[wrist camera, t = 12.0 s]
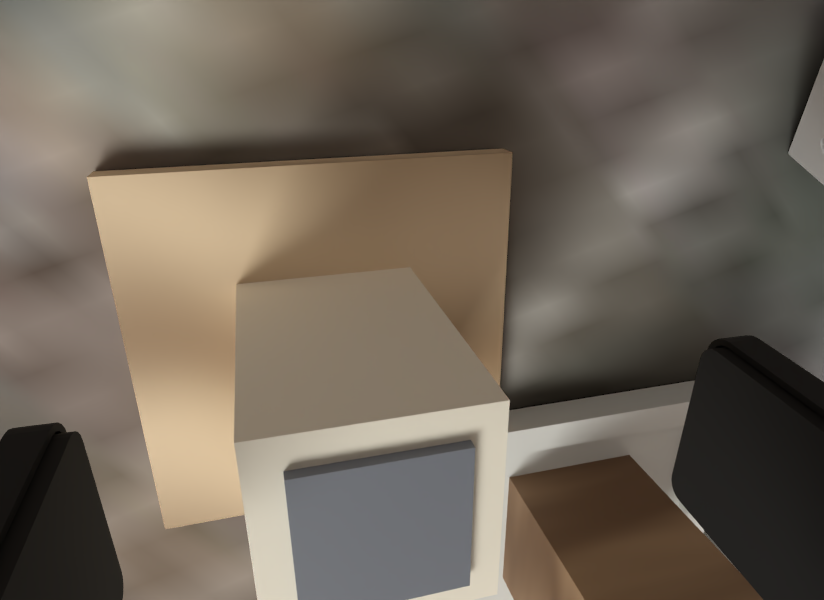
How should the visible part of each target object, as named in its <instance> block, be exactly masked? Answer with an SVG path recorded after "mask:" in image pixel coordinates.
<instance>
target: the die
mask: <svg viewBox="0 0 824 600" xmlns="http://www.w3.org/2000/svg"><path fill="white" fill-rule="evenodd" d="M788 154H789V155H790V156H791V157H792V158H793V159H795V160H796V161H797V162H798V163H799V164H800V165H801V166H802V167H804V168H805V169H806V170H807V171H808V172H809V173H810V174H812V175H813V176H814V177H815V178H816V179H817V180H818V181H819V182H821V183H822V184H823V185H824V60H823V62H822V65H821V68H820V70H819V73H818V75H817V78H816V81H815V83H814V86H813V89H812V91H811V94H810V97H809V99H808V102H807V105H806V107H805V110H804V112H803V115H802V118H801V120H800V123H799V126H798V128H797V131H796V134H795V136H794V139H793V141H792V144H791V147H790V149H789V152H788Z"/></svg>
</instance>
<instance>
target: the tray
mask: <svg viewBox="0 0 824 600" xmlns="http://www.w3.org/2000/svg"><path fill="white" fill-rule="evenodd" d="M694 382H695V380H694V381H688V382H682V383H676V384H669V385H663V386H657V387H651V388H645V389H638V390H632V391H626V392H620V393H614V394H607V395H601V396H595V397H589V398H583V399H576V400H570V401H564V402H558V403H552V404H545V405H539V406H533V407H527V408H521V409H514V410H509V421H508V437H507V452H506V468H505V483H504V499H503V514H502V529H501V545H500V560H499V576H498V591H497V594H496V595H492V596H487V597H483V598H479V599H475V600H514V599H513V597H512V595H511V593H510V591H509V589H508V587H507V585H506V583H505V581H504V579H503V565H504V550H505V535H506V519H507V504H508V489H509V477H514V476H519V475H524V474H529V473H535V472H540V471H545V470H551V469H556V468H561V467H567V466H572V465H577V464H583V463H588V462H593V461H599V460H604V459H609V458H615V457H620V456H625V455H630V456H631V457H632V458H633V459H634V460H635V461H636V462H637V463H638V465H639V466H640V467H641V468H642V469H643V470H644V471H645V472H646V473H647V474H648V475H649V476H650V477H651V478H652V479H653V480H654V482H655V483H656V484H657V485H658V486H659V487H660V488H661V489H662V490H663V491H664V492H665V493H666V494H667V495H668V496H669V498H670V499H671V500H672V501H673V502H674V503H675V504H676V505H677V506H678V507H679V508H680V509H681V510H682V511H683V512H684V514H685V515H686V516H687V517H688V518H689V519H690V520H691V521H692V522H693V523H694V524H695V525H696V526H697V527H698V528H699V530H700V531H701V532H702V533H703V532H704V529H703V528H702V527H701V526H700V525H699V523H698V522H697V521H696V520H695V519H694V518H693V516H692V515H691V514H690V513H689V512H688V510H687V509H686V508H685V507H684V506H683V505H682V503H681V502H680V501H679V500H678V498H677V497H676V495H675V493H674V491H673V487H672V481H671V478H672V472H673V468H674V464H675V460H676V456H677V452H678V448H679V444H680V440H681V435H682V431H683V427H684V423H685V419H686V415H687V411H688V407H689V403H690V399H691V394H692V390H693V386H694Z"/></svg>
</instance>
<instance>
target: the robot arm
mask: <svg viewBox="0 0 824 600" xmlns="http://www.w3.org/2000/svg"><path fill="white" fill-rule="evenodd" d="M671 481H672V487H673V491H674V493H675V495H676V497H677V498H678V500H679V501H680V502H681V503H682V505H683V506H684V507H685V508H686V509H687V510H688V512H689V513H690V514H691V515H692V516H693V518H694V519H695V520H696V521H697V522H698V523H699V525H700V526H701V527H702V528H703V529H704V531H705V532H706V533H707V534H708V535H709V536H710V538H711V539H712V540H713V541H714V542H715V543H716V545H717V546H718V547H719V548H720V549H721V551H722V552H723V553H724V554H725V555H726V556H727V558H728V559H729V560H730V561H731V562H732V563H733V565H734V566H735V567H736V568H737V569H738V571H739V572H740V573H741V574H742V575H743V576H744V578H745V579H746V580H747V581H748V582H749V583H750V585H751V586H752V587H753V588H754V589H755V591H756V592H757V593H758V594H759V595H760V596H761V598H762V599H763V600H824V382H823V381H821V380H820V379H818V378H817V377H815V376H814V375H812V374H811V373H809V372H808V371H806V370H805V369H803V368H802V367H800V366H799V365H797V364H796V363H794V362H793V361H791V360H790V359H788V358H787V357H785V356H784V355H782V354H781V353H779V352H778V351H776V350H775V349H773V348H772V347H770V346H769V345H767V344H766V343H764V342H763V341H761V340H760V339H758V338H756V337H754V336H739V337H731V338H723V339H717V340H715V341H713V342H712V343H711V344H710V345H709V347H708V350H706V351H704V352H703V354H702V355H701V358H700V362H699V366H698V370H697V374H696V378H695V382H694V386H693V390H692V394H691V399H690V403H689V407H688V411H687V415H686V419H685V423H684V427H683V431H682V435H681V440H680V444H679V448H678V452H677V456H676V460H675V464H674V468H673V472H672V478H671ZM122 599H123V576H122V572H121V568H120V565H119V561H118V558H117V555H116V551H115V548H114V545H113V541H112V538H111V534H110V531H109V528H108V524H107V521H106V518H105V514H104V511H103V507H102V504H101V501H100V497H99V494H98V491H97V487H96V484H95V480H94V477H93V474H92V470H91V467H90V463H89V460H88V457H87V453H86V450H85V447H84V443H83V440H82V438H81V435H80V434H79V433H78V432H76V431H75V432H66V430H65V428H64V427H63V425H62V424H60V423H50V424H42V425H34V426H26V427H18V428H12V429H9V430H8V431H7V432H6V433H5V434H4V436H3V437H2V439H1V441H0V600H122Z"/></svg>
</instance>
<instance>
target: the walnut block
mask: <svg viewBox="0 0 824 600" xmlns="http://www.w3.org/2000/svg"><path fill="white" fill-rule="evenodd" d="M503 579H504V581H505V583H506V585H507V587H508V589H509V591H510V593H511V595H512V597H513V599H514V600H763V599H762V598H761V596H760V595H759V594H758V593H757V592H756V591H755V589H754V588H753V587H752V586H751V585H750V583H749V582H748V581H747V580H746V579H745V578H744V576H743V575H742V574H741V573H740V572H739V571H738V570H737V569H736V568H735V567H734V566H733V565H732V564H731V563H730V561H729V560H728V559H727V558H726V557H725V556H724V555H723V554H722V553H721V552H720V551H719V550H718V549H717V548H716V547H715V545H714V544H713V543H712V542H711V541H710V540H709V539H708V538H707V537H706V536H705V535H704V534H703V533H702V532H701V531H700V530H699V528H698V527H697V526H696V525H695V524H694V523H693V522H692V521H691V520H690V519H689V518H688V517H687V516H686V515H685V514H684V512H683V511H682V510H681V509H680V508H679V507H678V506H677V505H676V504H675V503H674V502H673V501H672V500H671V499H670V498H669V496H668V495H667V494H666V493H665V492H664V491H663V490H662V489H661V488H660V487H659V486H658V485H657V484H656V483H655V482H654V480H653V479H652V478H651V477H650V476H649V475H648V474H647V473H646V472H645V471H644V470H643V469H642V468H641V467H640V466H639V465H638V463H637V462H636V461H635V460H634V459H633V458H632V457H631V456H630V455H625V456H620V457H615V458H609V459H604V460H599V461H593V462H588V463H583V464H577V465H572V466H567V467H561V468H556V469H551V470H545V471H540V472H535V473H529V474H524V475H519V476H514V477H509V489H508V504H507V519H506V535H505V550H504V565H503Z"/></svg>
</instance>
